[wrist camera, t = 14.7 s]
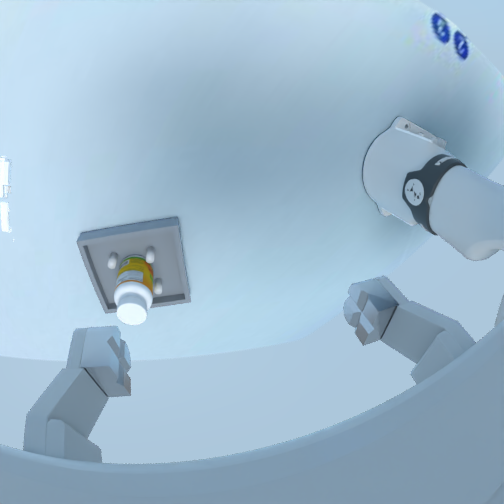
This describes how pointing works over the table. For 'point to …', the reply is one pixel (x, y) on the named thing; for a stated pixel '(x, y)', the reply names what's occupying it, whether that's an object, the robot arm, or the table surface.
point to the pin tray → (143, 244)
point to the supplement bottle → (134, 289)
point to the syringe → (1, 177)
